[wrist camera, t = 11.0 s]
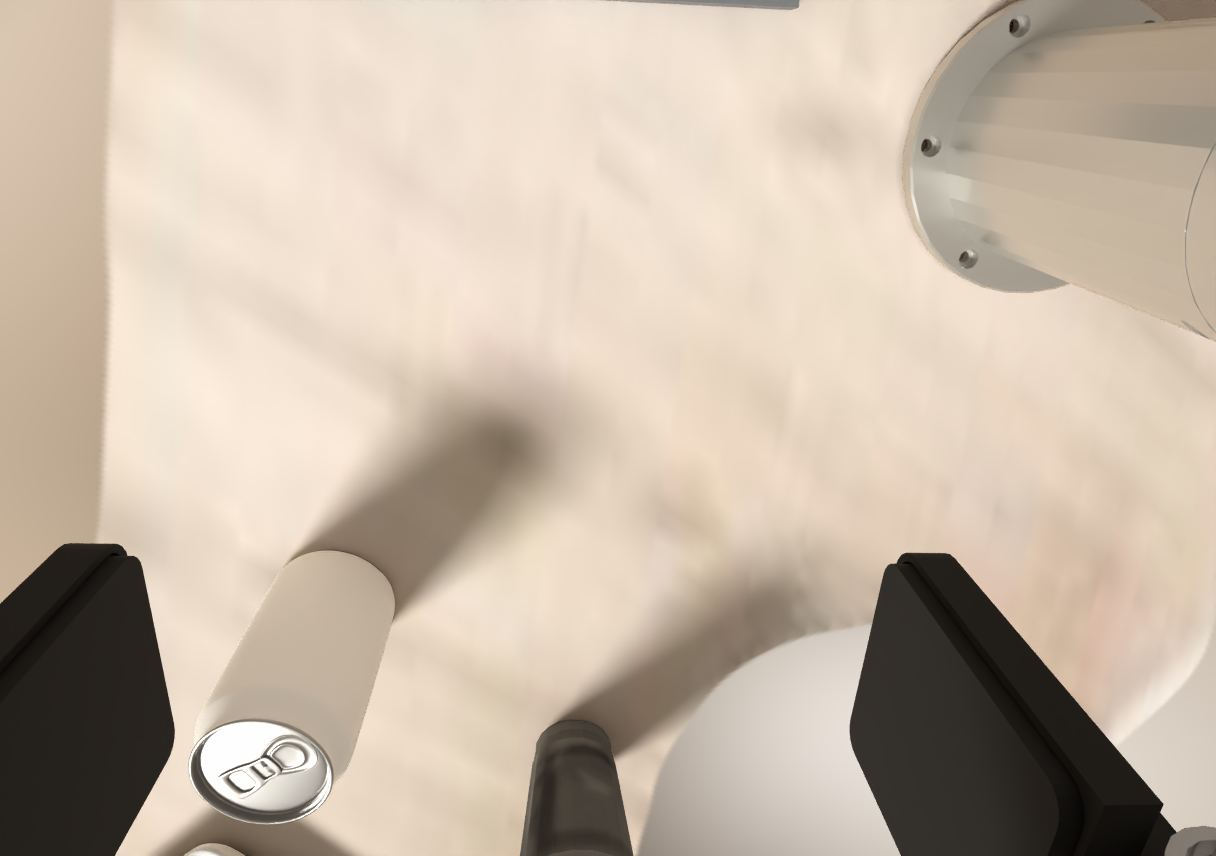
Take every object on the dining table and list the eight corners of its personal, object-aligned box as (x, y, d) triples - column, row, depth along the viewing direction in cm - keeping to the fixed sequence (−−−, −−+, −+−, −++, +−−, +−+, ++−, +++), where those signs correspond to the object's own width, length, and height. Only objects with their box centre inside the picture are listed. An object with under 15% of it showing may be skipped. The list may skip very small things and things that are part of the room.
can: (421, 611, 44) (377, 790, 33) (326, 663, 45) (252, 854, 34) (346, 524, 41) (271, 686, 30) (247, 582, 42) (140, 758, 31)
